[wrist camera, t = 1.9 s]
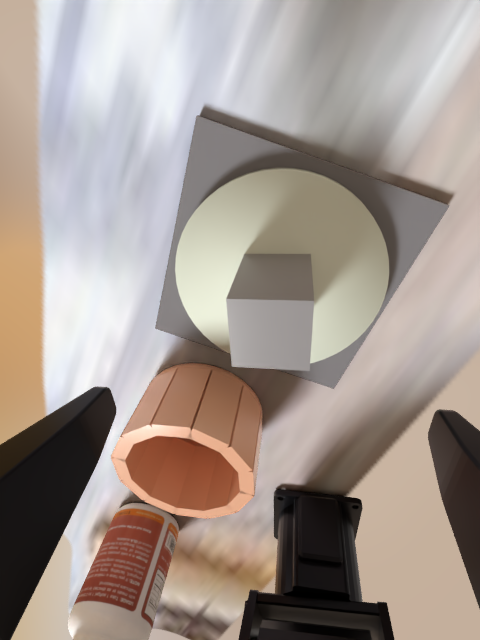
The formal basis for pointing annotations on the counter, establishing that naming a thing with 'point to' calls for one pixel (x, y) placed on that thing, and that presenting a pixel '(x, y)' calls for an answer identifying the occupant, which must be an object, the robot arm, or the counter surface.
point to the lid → (282, 268)
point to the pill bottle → (126, 576)
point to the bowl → (193, 442)
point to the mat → (257, 153)
